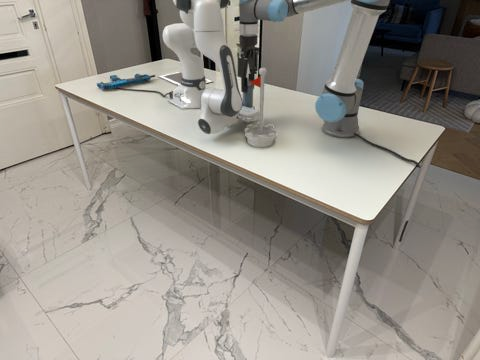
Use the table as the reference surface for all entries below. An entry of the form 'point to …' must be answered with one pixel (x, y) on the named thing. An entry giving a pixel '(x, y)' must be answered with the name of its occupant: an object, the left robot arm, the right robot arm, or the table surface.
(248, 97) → the jar
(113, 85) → the submachine gun
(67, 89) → the table surface
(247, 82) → the lid
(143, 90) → the left robot arm
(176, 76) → the tablet
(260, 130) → the flag stand
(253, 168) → the table surface
